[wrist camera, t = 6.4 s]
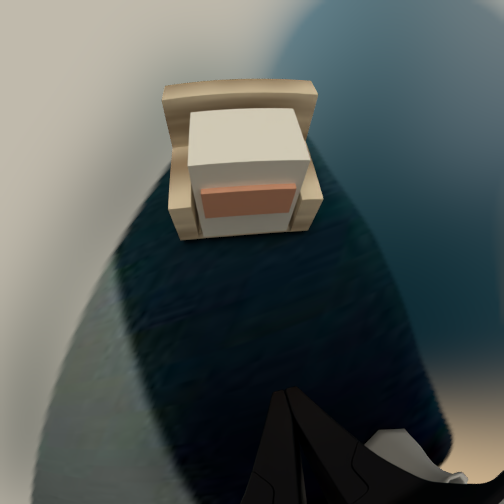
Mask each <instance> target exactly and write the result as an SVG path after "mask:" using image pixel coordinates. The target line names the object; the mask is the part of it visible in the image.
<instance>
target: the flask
mask: <svg viewBox="0 0 504 504" xmlns="http://www.w3.org/2000/svg"><path fill="white" fill-rule="evenodd" d="M364 445H365V446H366V447H368V448H369V449H370V450H372V451H373V452H374V453H376V454H377V455H379V456H380V457H382V458H384V459H385V460H387V461H389V462H390V463H392V464H394V465H396V466H398V467H400V468H402V469H403V470H405V471H407V472H409V473H411V474H413V475H415V476H418V477H420V478H422V479H425V480H429V481H433V482H443V483H459V484H467V481H468V478H467V477H466V476H465V474H464V473H462V472H457V473H454V474H451V473H448V472H446V471H443V470H442V469H440V468H439V467H437V466H436V465H435V464H433V463H432V461H431V460H430V459H429V458H428V457H427V455H426V454H425V452H424V451H423V449H422V448H421V447H420V445H419V444H418V443H417V442H416V441H415V440H414V439H413V438H412V437H411V436H410V435H409V433H408V432H407V431H406V430H405V429H389V430H378V431H377V432H376V433H375V434H374V435H373V436H372V437H371V438H370V439H369V440H368V441H367V442H366V443H365V444H364Z"/></svg>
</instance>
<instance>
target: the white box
mask: <svg viewBox="0 0 504 504" xmlns="http://www.w3.org/2000/svg"><path fill="white" fill-rule="evenodd" d="M309 163H310V157H309V153H308V150H307V147H306V144H305V141H304V138H303V135H302V132H301V129H300V127H299V124H298V121H297V118H296V115H295V112H294V110H293V109H291V108H249V109H226V110H212V111H200V112H191V114H190V128H189V146H188V170H189V175H190V180H191V184H192V189H193V193H194V198H195V202H196V207H197V211H198V215H199V220H200V224H201V228H202V232H203V236H204V237H208V236H220V235H233V234H245V233H259V232H272V231H286V230H287V227H288V225H289V222H290V219H291V216H292V213H293V210H294V207H295V205H296V202H297V199H298V196H299V193H300V190H301V187H302V184H303V181H304V178H305V175H306V172H307V169H308V166H309Z"/></svg>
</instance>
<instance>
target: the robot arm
mask: <svg viewBox="0 0 504 504" xmlns="http://www.w3.org/2000/svg"><path fill="white" fill-rule="evenodd" d="M298 440H299V441H298ZM299 443H300V445H301V447H302V449H303V452H304V454H305V456H306V458H307V460H308V462H309V464H310V466H311V469H312V471H313V473H314V475H315V477H316V479H317V481H318V483H319V485H320V487H321V489H322V491H323V493H324V495H325V497H326V499H327V501H328V503H329V504H504V471H502V472H501V473H500V474H499V475H498V476H497V477H496V478H495V479H493V480H492V481H489V482H487V483H482V484H459V483H443V482H433V481H429V480H425V479H422V478H420V477H418V476H415V475H413V474H411V473H409V472H407V471H405V470H403V469H402V468H400V467H398V466H396V465H394V464H392V463H390V462H389V461H387V460H385V459H384V458H382V457H380V456H379V455H377V454H376V453H374V452H373V451H372V450H370V449H369V448H368V447H366V446H365V445H364V444H363V443H361V442H360V441H359V442H358V440H357V439H356V438H355V437H354V436H353V435H351V434H350V433H349V432H348V431H347V430H345V429H344V428H343V427H342V426H341V425H340V424H338V423H337V422H336V421H335V420H334V419H333V418H331V417H330V416H329V415H328V414H327V413H326V412H325V411H323V410H322V409H321V408H320V407H319V406H318V405H317V404H316V403H314V402H313V401H312V400H311V399H310V398H309V397H308V396H307V395H306V394H304V393H303V392H302V391H301V390H300V389H299V388H298V387H296V386H294V387H290V388H287V389H285V390H279V391H275V392H273V393H272V397H271V401H270V405H269V409H268V413H267V417H266V421H265V425H264V429H263V433H262V437H261V441H260V445H259V448H258V452H257V456H256V459H255V463H254V466H253V472H252V473H251V476H250V480H249V483H248V486H247V489H246V491H245V494H244V496H243V499H242V501H241V503H240V504H307V501H306V492H305V484H304V476H303V469H302V461H301V453H300V446H299Z"/></svg>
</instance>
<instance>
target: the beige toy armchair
mask: <svg viewBox="0 0 504 504" xmlns="http://www.w3.org/2000/svg"><path fill="white" fill-rule="evenodd" d="M317 97H318V93H317V91H316V90H315V88H314V86H313V84H312V82H311V81H304V80H288V79H232V80H231V79H230V80H213V81H201V82H192V83H183V84H176V85H168V86H165V89H164V93H163V97H162V104H163V108H164V113H165V117H166V121H167V126H168V130H169V134H170V139H171V142H172V147H173V151H172V161H171V173H170V187H169V204H168V210H169V213H170V215H171V218H172V220H173V223H174V225H175V227H176V230H177V232H178V235H179V237H180V239H181V240H190V239H200V238H212V237H224V236H237V235H249V234H263V233H276V232H292V231H306V230H308V229H309V227H310V225H311V223H312V221H313V219H314V217H315V215H316V213H317V211H318V209H319V207H320V205H321V203H322V201H323V196H322V193H321V189H320V186H319V182H318V179H317V176H316V172H315V169H314V166H313V163H312V160H311V156H310V153H309V150H308V147H307V144H306V137H307V134H308V130H309V126H310V122H311V119H312V116H313V112H314V108H315V105H316V101H317ZM249 108H291V109H293V110H294V112H295V115H296V118H297V121H298V124H299V127H300V129H301V132H302V135H303V138H304V141H305V144H306V147H307V150H308V153H309V157H310V163H309V166H308V169H307V172H306V175H305V178H304V181H303V184H302V187H301V190H300V193H299V196H298V199H297V202H296V205H295V207H294V210H293V213H292V216H291V219H290V222H289V225H288V227H287V230H286V231H272V232H259V233H245V234H233V235H220V236H208V237H204V236H203V232H202V228H201V224H200V220H199V215H198V211H197V207H196V202H195V198H194V193H193V189H192V184H191V180H190V175H189V170H188V146H189V128H190V114H191V112H200V111H212V110H226V109H249Z"/></svg>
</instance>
